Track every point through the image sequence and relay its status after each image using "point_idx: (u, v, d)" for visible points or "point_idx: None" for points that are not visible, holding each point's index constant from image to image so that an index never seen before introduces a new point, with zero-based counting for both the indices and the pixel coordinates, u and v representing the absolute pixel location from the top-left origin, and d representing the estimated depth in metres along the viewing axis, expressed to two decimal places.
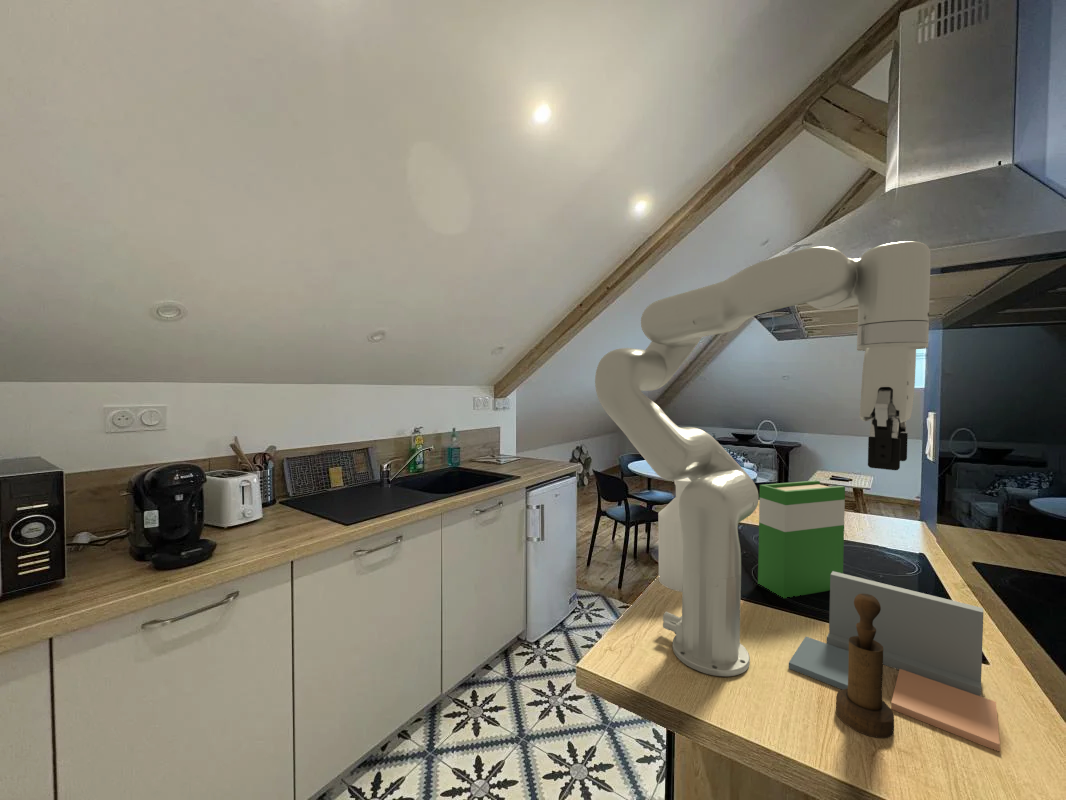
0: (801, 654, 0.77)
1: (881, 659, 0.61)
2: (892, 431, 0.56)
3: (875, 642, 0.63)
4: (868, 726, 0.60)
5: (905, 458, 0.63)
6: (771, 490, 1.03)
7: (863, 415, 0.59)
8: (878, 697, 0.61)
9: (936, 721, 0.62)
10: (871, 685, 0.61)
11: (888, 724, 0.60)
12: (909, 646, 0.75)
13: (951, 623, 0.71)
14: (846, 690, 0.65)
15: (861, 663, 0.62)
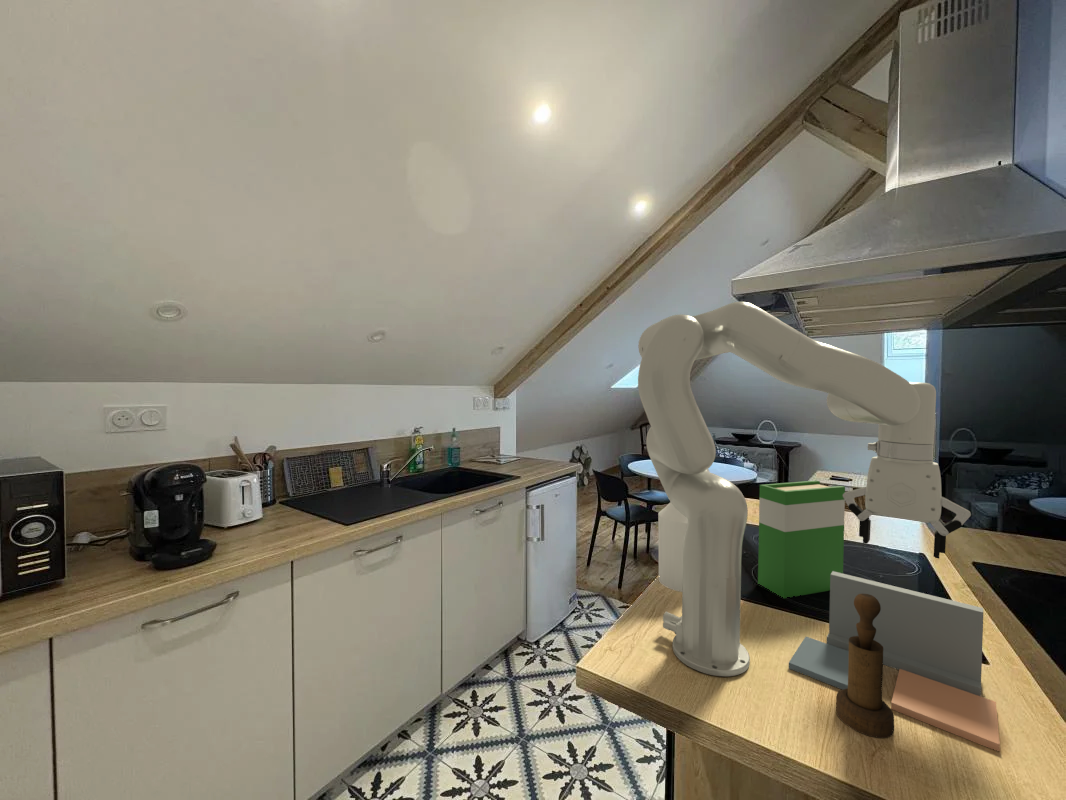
0: (801, 654, 0.77)
1: (881, 659, 0.61)
2: None
3: (875, 642, 0.63)
4: (868, 726, 0.60)
5: (868, 537, 0.83)
6: (771, 490, 1.03)
7: (938, 519, 0.74)
8: (878, 697, 0.61)
9: (936, 721, 0.62)
10: (871, 685, 0.61)
11: (888, 724, 0.60)
12: (909, 646, 0.75)
13: (951, 623, 0.71)
14: (846, 690, 0.65)
15: (861, 663, 0.62)
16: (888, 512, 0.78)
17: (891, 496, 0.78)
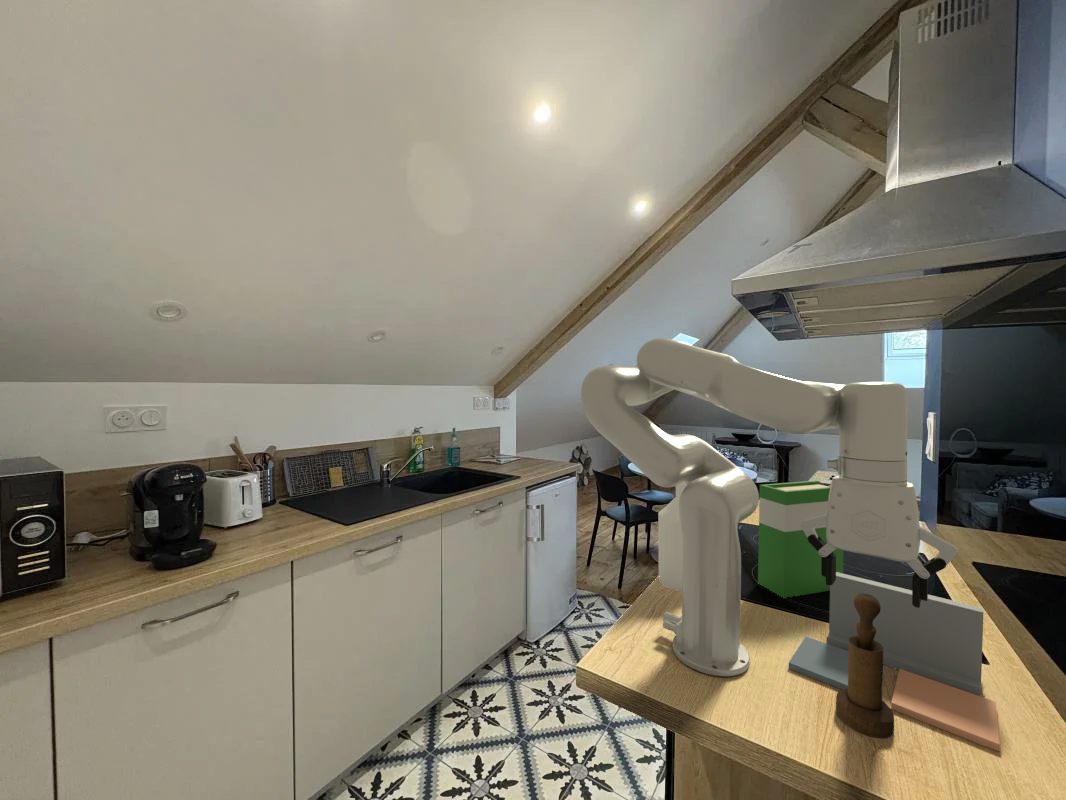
0: (801, 654, 0.77)
1: (881, 659, 0.61)
2: None
3: (875, 642, 0.63)
4: (868, 726, 0.60)
5: None
6: (771, 490, 1.03)
7: (916, 557, 0.57)
8: (878, 697, 0.61)
9: (936, 721, 0.62)
10: (871, 685, 0.61)
11: (888, 724, 0.60)
12: (909, 646, 0.75)
13: (951, 623, 0.71)
14: (846, 690, 0.65)
15: (861, 663, 0.62)
16: (854, 547, 0.61)
17: (856, 527, 0.61)
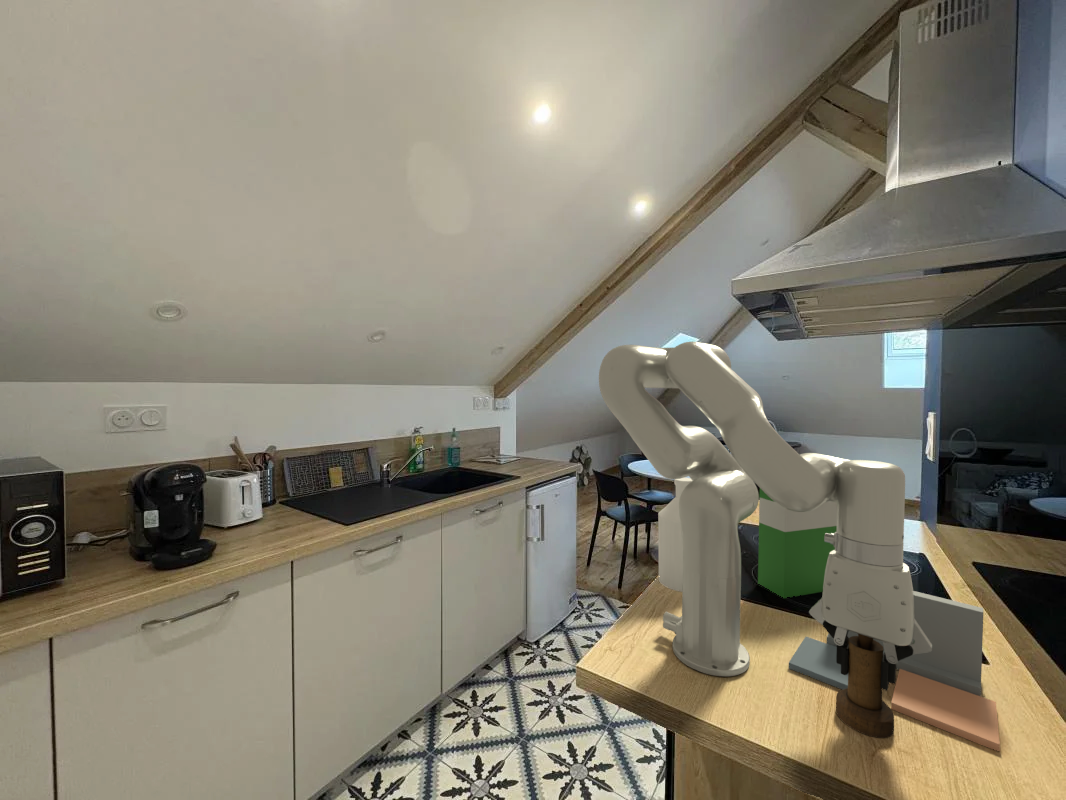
0: (801, 654, 0.77)
1: (881, 659, 0.61)
2: None
3: (875, 642, 0.63)
4: (868, 725, 0.60)
5: None
6: None
7: (910, 642, 0.58)
8: (878, 697, 0.61)
9: (936, 721, 0.62)
10: (871, 685, 0.61)
11: (888, 724, 0.60)
12: None
13: (951, 623, 0.71)
14: (846, 690, 0.65)
15: (861, 663, 0.62)
16: (849, 626, 0.62)
17: (852, 606, 0.62)
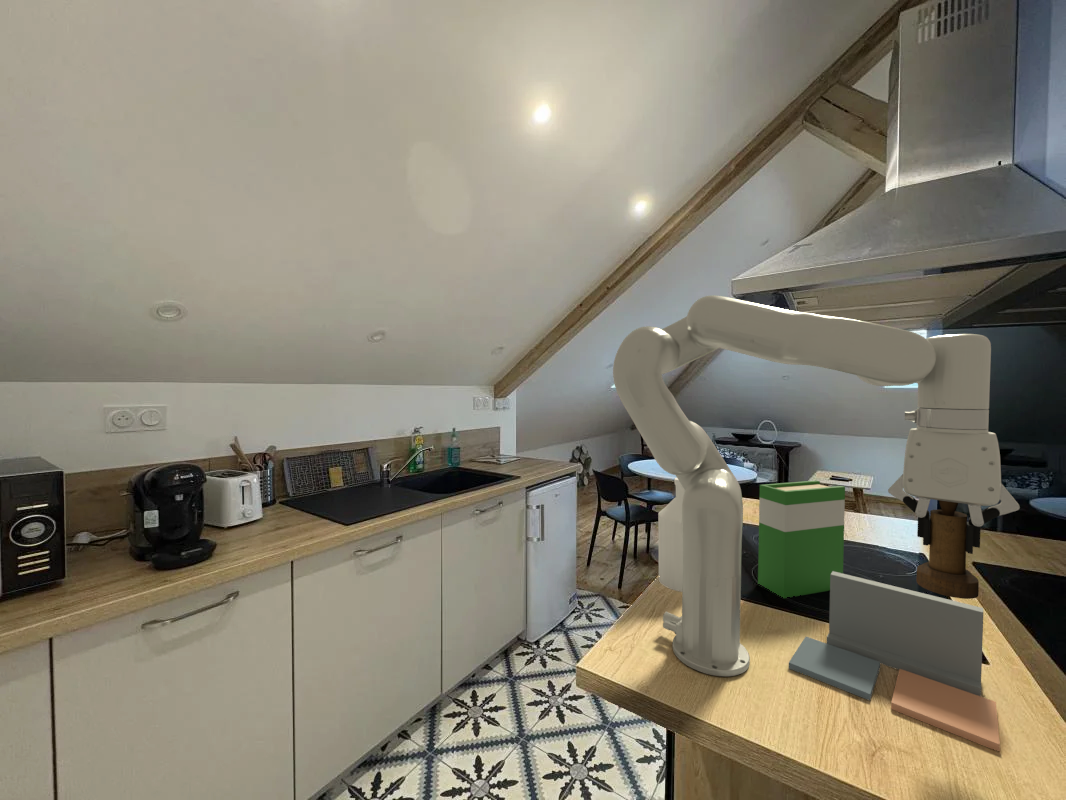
0: (801, 654, 0.77)
1: (965, 525, 0.63)
2: None
3: (957, 512, 0.65)
4: (954, 588, 0.62)
5: None
6: (771, 490, 1.03)
7: (998, 501, 0.60)
8: (962, 562, 0.63)
9: (936, 721, 0.62)
10: (956, 550, 0.63)
11: (974, 585, 0.62)
12: (909, 646, 0.75)
13: (951, 623, 0.71)
14: (926, 563, 0.67)
15: (945, 529, 0.63)
16: (933, 494, 0.64)
17: (936, 475, 0.63)
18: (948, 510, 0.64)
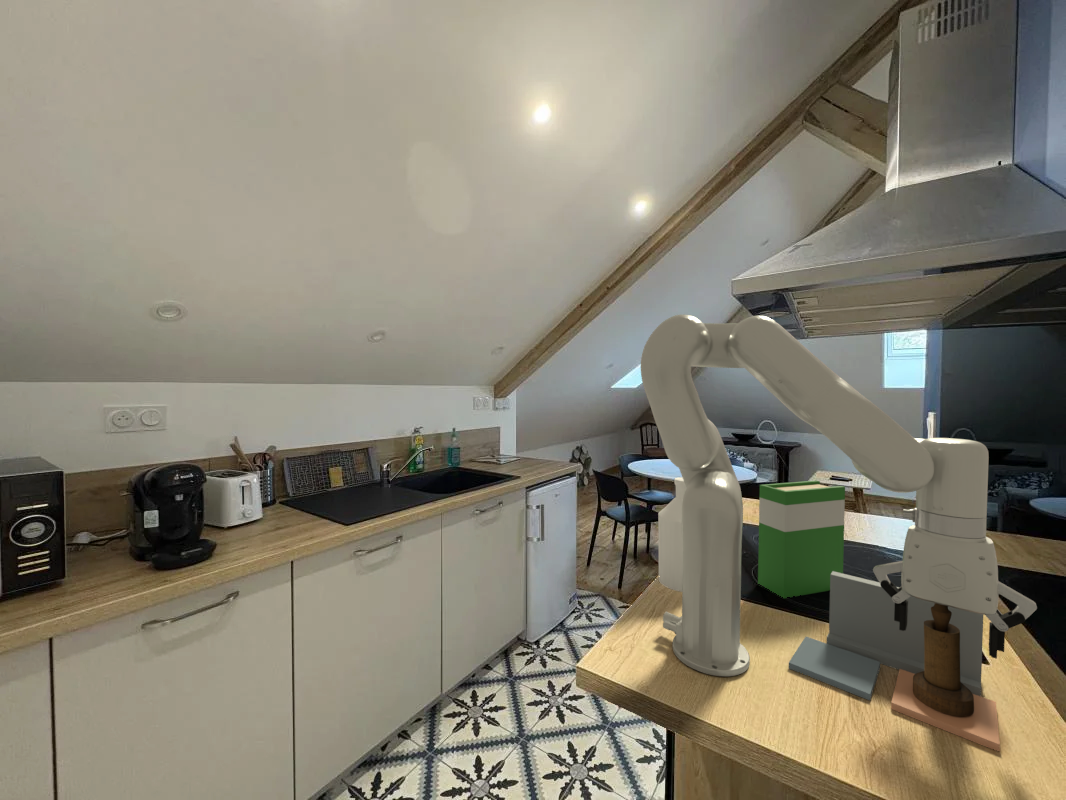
0: (801, 654, 0.77)
1: (958, 641, 0.64)
2: None
3: (950, 625, 0.66)
4: (949, 705, 0.63)
5: None
6: (771, 490, 1.03)
7: (996, 611, 0.60)
8: (957, 678, 0.64)
9: (936, 721, 0.62)
10: (950, 666, 0.64)
11: (969, 703, 0.62)
12: (909, 646, 0.75)
13: (951, 623, 0.71)
14: (922, 673, 0.68)
15: (939, 645, 0.64)
16: (931, 597, 0.64)
17: (934, 578, 0.64)
18: (941, 624, 0.65)
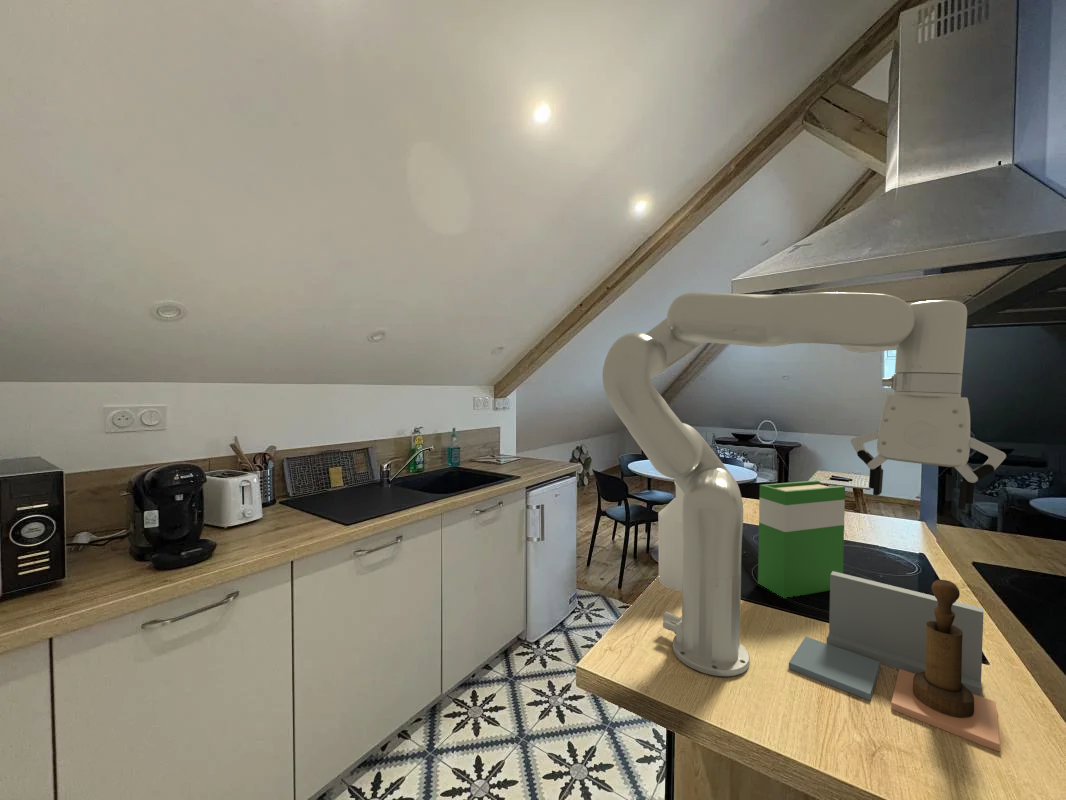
0: (801, 654, 0.77)
1: (961, 642, 0.64)
2: None
3: (952, 626, 0.66)
4: (950, 706, 0.63)
5: (880, 490, 0.71)
6: (771, 490, 1.03)
7: (966, 462, 0.61)
8: (958, 679, 0.64)
9: (936, 721, 0.62)
10: (952, 668, 0.63)
11: (969, 704, 0.62)
12: (909, 646, 0.75)
13: None
14: (923, 673, 0.67)
15: (941, 646, 0.64)
16: (905, 456, 0.66)
17: (909, 437, 0.65)
18: (944, 626, 0.65)
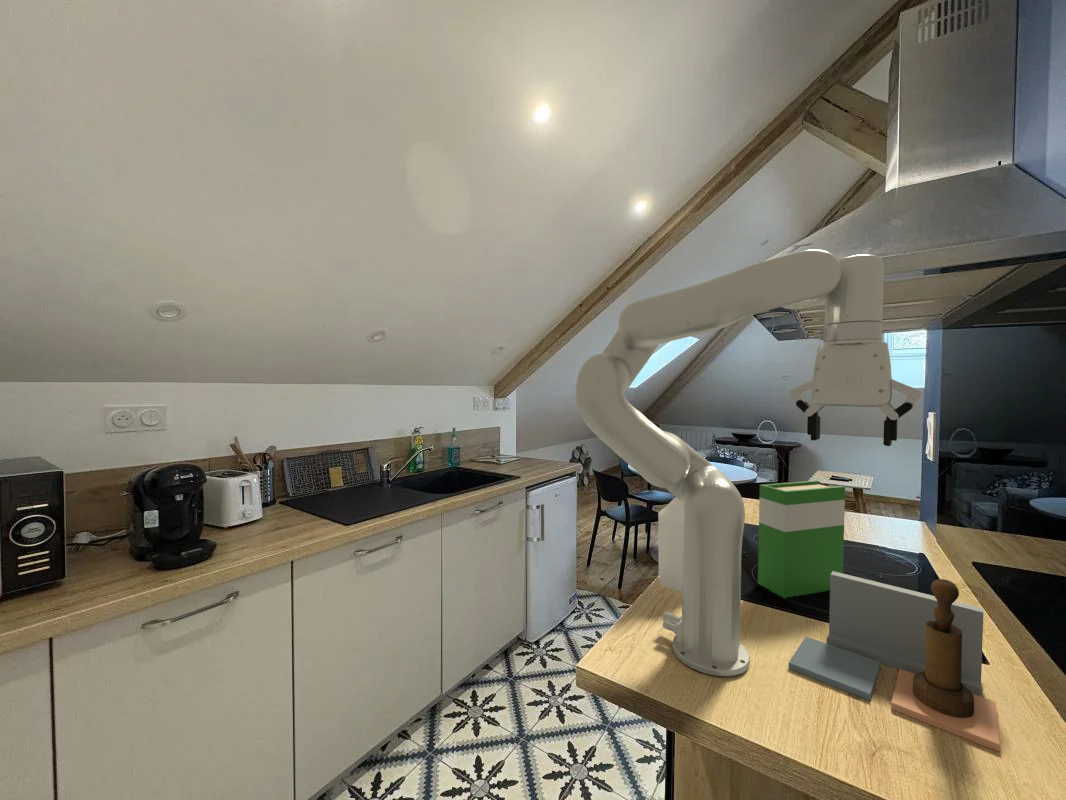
0: (801, 654, 0.77)
1: (961, 642, 0.64)
2: None
3: (952, 626, 0.66)
4: (950, 706, 0.63)
5: (818, 436, 0.76)
6: (771, 490, 1.03)
7: (887, 401, 0.67)
8: (958, 678, 0.64)
9: (936, 721, 0.62)
10: (952, 667, 0.64)
11: (969, 704, 0.62)
12: (909, 646, 0.75)
13: None
14: (922, 673, 0.67)
15: (941, 646, 0.64)
16: (835, 401, 0.71)
17: (838, 383, 0.71)
18: (943, 625, 0.65)
